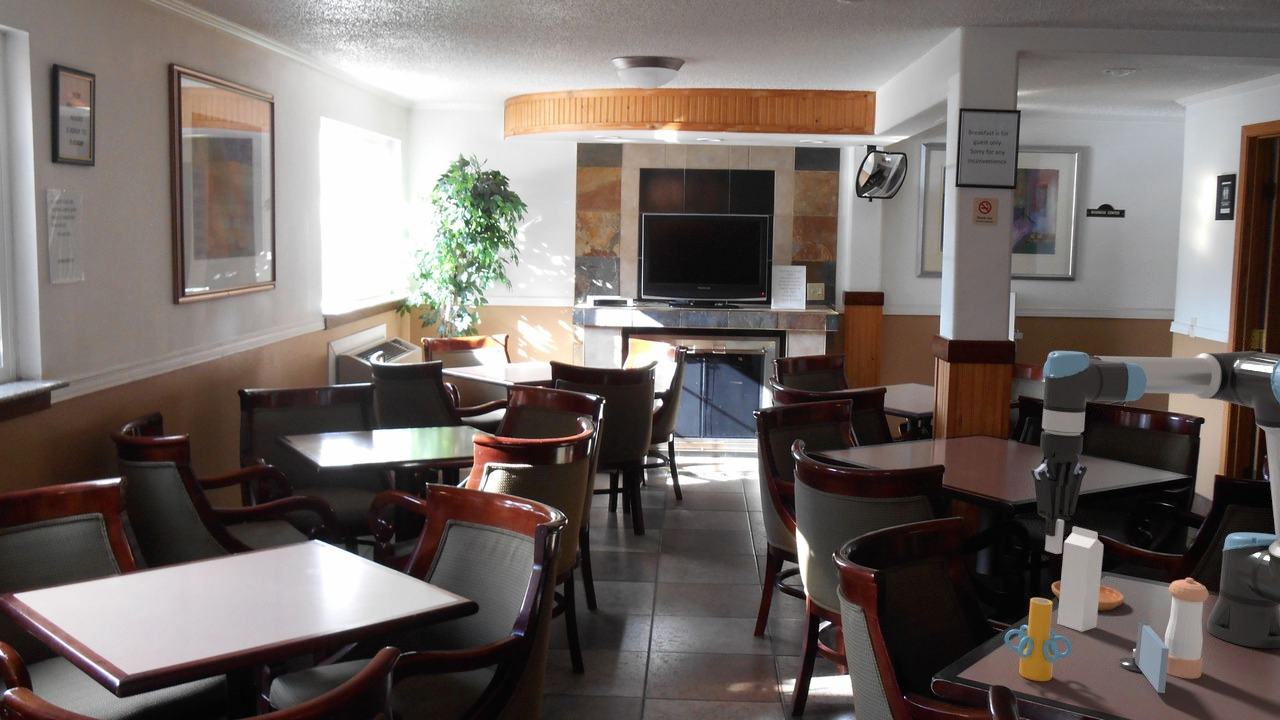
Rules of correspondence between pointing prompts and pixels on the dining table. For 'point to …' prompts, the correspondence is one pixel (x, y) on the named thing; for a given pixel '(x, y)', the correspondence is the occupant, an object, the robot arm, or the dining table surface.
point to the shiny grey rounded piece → (1130, 663)
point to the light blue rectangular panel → (1151, 656)
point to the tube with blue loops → (1038, 642)
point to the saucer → (1106, 596)
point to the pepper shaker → (1185, 628)
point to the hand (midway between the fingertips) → (1053, 551)
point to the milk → (1080, 580)
